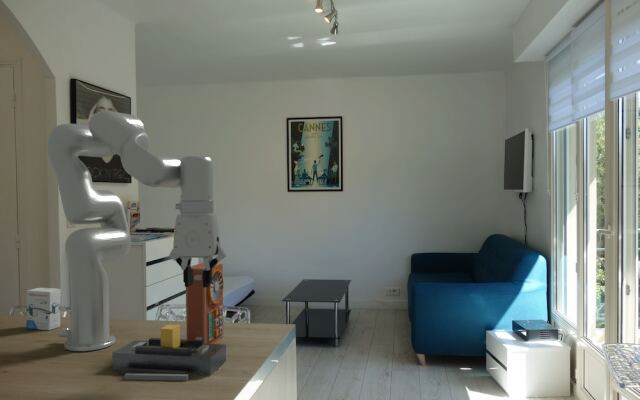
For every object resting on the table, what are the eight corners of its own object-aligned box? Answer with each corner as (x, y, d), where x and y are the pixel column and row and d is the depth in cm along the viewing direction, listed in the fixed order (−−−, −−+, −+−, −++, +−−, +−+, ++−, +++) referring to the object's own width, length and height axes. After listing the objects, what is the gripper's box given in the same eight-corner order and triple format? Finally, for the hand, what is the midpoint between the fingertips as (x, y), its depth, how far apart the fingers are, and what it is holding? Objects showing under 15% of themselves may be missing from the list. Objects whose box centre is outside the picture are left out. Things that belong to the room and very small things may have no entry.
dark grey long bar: (118, 374, 115) (118, 369, 115) (121, 372, 116) (121, 367, 116) (184, 378, 112) (184, 373, 112) (187, 376, 114) (187, 371, 114)
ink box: (25, 329, 154) (25, 290, 154) (38, 324, 159) (37, 287, 159) (49, 330, 152) (49, 291, 152) (61, 326, 157) (61, 288, 157)
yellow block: (160, 349, 119) (160, 328, 119) (168, 344, 123) (168, 324, 123) (172, 350, 119) (172, 329, 119) (180, 345, 123) (179, 324, 123)
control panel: (227, 335, 146) (205, 351, 132) (205, 333, 148) (180, 349, 133) (227, 261, 146) (205, 268, 131) (204, 260, 147) (180, 268, 133)
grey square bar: (124, 379, 112) (124, 375, 112) (126, 377, 113) (126, 373, 113) (187, 380, 111) (186, 376, 111) (188, 378, 112) (188, 374, 112)
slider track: (112, 369, 118) (112, 347, 118) (135, 356, 128) (134, 335, 128) (210, 375, 114) (210, 352, 114) (226, 360, 124) (225, 339, 124)
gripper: (156, 209, 117) (157, 288, 117) (225, 209, 114) (226, 290, 114) (171, 208, 124) (171, 282, 125) (236, 208, 122) (236, 284, 122)
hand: (197, 285), depth 120 cm, fingers open, 3 cm apart
